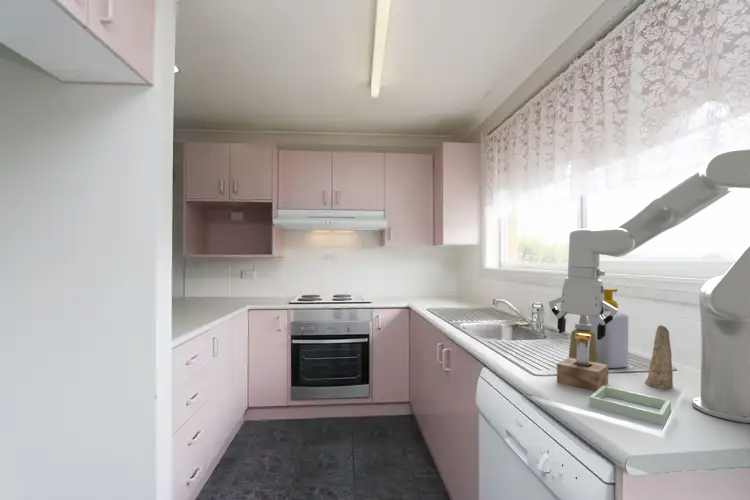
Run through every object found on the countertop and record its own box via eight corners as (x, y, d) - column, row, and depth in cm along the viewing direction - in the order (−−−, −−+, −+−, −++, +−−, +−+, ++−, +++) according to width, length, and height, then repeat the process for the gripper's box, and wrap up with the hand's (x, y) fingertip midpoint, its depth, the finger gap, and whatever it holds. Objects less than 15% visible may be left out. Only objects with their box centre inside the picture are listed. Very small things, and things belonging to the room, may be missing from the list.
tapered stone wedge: (644, 391, 103) (672, 397, 99) (646, 327, 101) (676, 331, 97) (645, 382, 108) (672, 387, 104) (648, 321, 106) (675, 324, 102)
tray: (670, 413, 86) (670, 400, 86) (662, 429, 78) (662, 415, 78) (602, 397, 96) (603, 385, 96) (589, 409, 88) (589, 396, 88)
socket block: (608, 386, 104) (608, 364, 104) (597, 395, 97) (598, 372, 97) (569, 378, 111) (569, 357, 111) (556, 385, 104) (557, 363, 104)
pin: (592, 382, 104) (592, 334, 104) (588, 386, 101) (588, 336, 101) (577, 379, 107) (577, 332, 107) (572, 382, 104) (573, 334, 104)
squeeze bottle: (568, 370, 119) (569, 312, 119) (568, 364, 126) (569, 310, 126) (598, 374, 115) (598, 315, 115) (596, 368, 122) (597, 312, 122)
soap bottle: (629, 367, 123) (630, 290, 123) (608, 369, 120) (609, 290, 121) (605, 360, 132) (606, 288, 132) (585, 361, 129) (586, 288, 129)
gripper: (622, 276, 101) (620, 340, 101) (555, 271, 113) (552, 328, 113) (615, 276, 96) (613, 344, 96) (545, 271, 108) (543, 331, 108)
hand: (580, 335), depth 104 cm, fingers open, 9 cm apart
